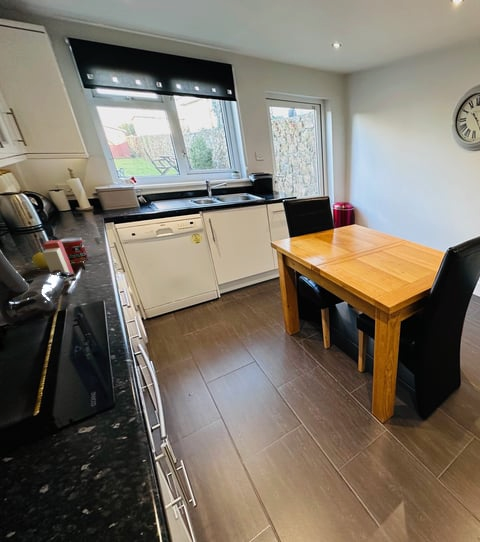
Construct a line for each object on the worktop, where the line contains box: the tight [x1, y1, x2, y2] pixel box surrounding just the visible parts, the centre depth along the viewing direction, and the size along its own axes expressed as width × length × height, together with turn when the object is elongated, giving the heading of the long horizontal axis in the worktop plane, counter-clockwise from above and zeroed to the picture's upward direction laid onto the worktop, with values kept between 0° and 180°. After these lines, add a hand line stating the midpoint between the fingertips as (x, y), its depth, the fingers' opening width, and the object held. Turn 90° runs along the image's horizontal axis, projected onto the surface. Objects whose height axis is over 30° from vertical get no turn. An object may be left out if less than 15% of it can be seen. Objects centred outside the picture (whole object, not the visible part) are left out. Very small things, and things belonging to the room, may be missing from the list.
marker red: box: [43, 239, 74, 274], centre depth 112 cm, size 4×5×16 cm
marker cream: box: [42, 248, 72, 287], centre depth 109 cm, size 4×5×14 cm
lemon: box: [32, 252, 49, 270], centre depth 125 cm, size 6×6×8 cm
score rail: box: [59, 261, 87, 296], centre depth 113 cm, size 8×30×4 cm, turn 35°
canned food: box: [60, 236, 89, 262], centre depth 136 cm, size 8×8×11 cm
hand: (57, 272), depth 108 cm, fingers closed
